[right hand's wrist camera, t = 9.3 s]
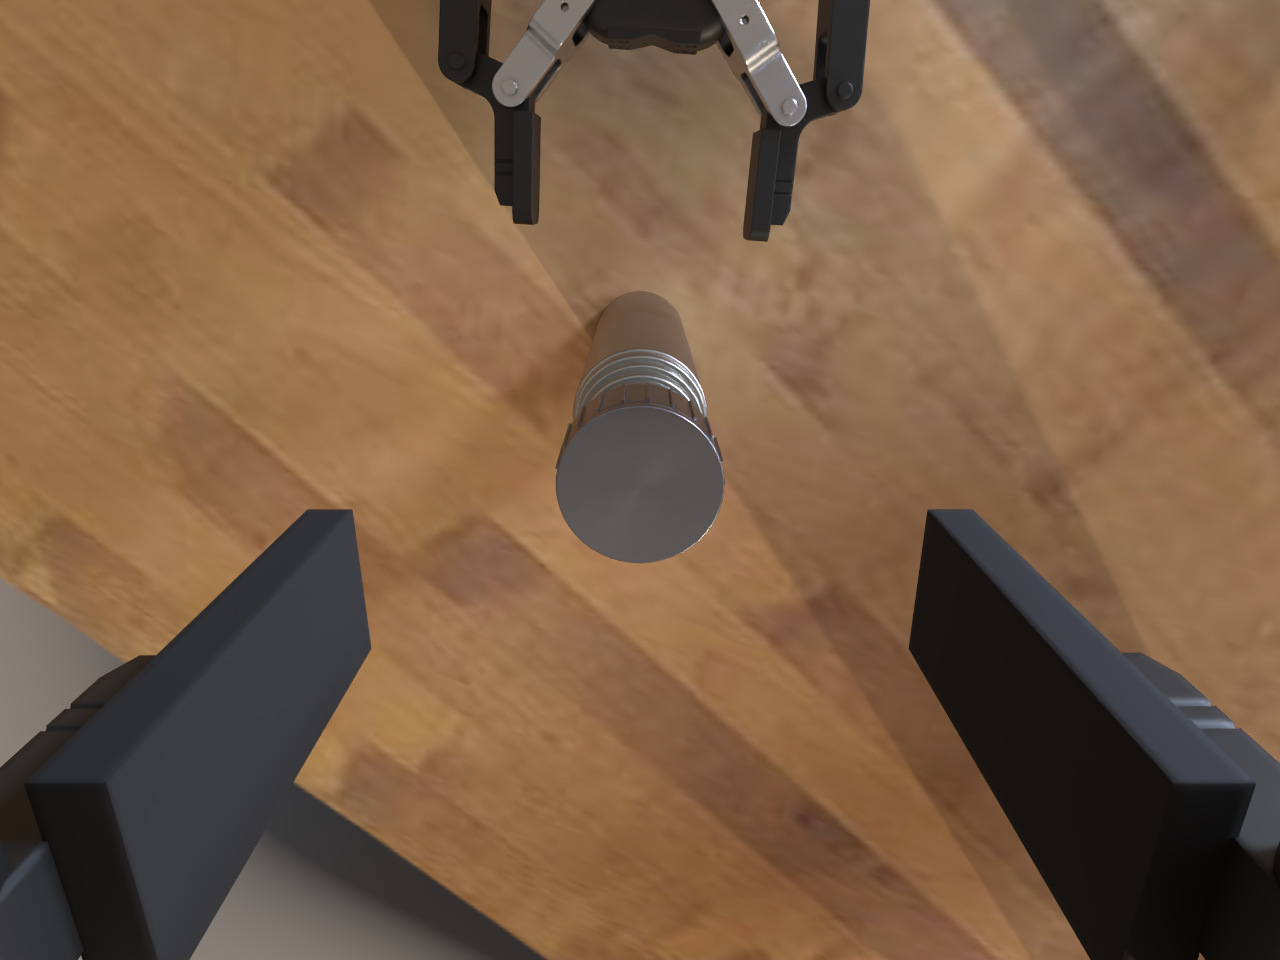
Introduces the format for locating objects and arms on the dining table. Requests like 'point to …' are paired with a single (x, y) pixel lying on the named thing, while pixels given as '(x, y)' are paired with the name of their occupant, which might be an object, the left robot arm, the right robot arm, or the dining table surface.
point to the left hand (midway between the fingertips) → (641, 231)
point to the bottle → (640, 351)
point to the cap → (639, 474)
